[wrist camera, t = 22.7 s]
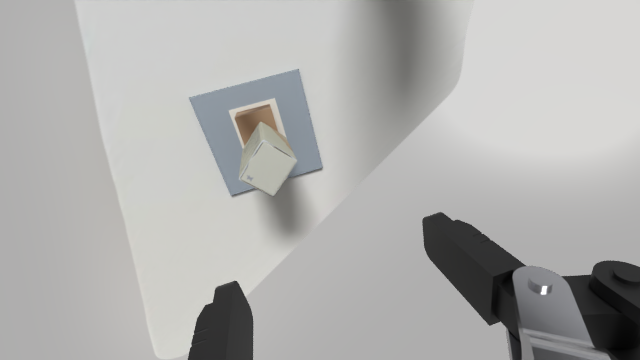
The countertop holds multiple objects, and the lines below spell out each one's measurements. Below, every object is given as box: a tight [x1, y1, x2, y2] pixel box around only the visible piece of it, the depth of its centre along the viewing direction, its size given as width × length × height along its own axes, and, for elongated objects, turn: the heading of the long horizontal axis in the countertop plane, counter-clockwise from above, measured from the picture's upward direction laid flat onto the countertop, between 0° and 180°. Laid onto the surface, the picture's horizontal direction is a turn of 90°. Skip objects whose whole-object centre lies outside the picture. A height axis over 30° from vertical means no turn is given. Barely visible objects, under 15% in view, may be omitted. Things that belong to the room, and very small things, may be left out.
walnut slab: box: [235, 104, 278, 146], centre depth 40 cm, size 5×9×4 cm, turn 13°
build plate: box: [189, 69, 323, 195], centre depth 42 cm, size 16×16×1 cm
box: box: [239, 122, 297, 196], centre depth 33 cm, size 5×4×11 cm
